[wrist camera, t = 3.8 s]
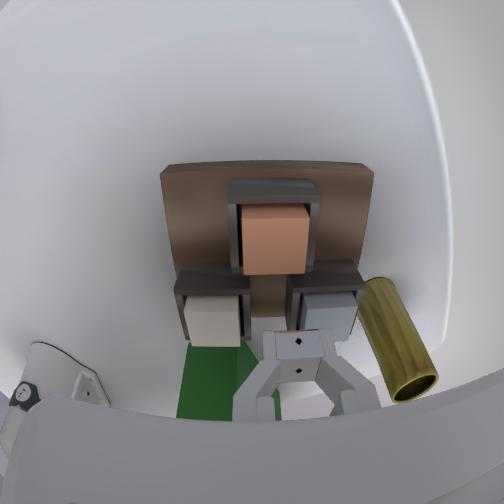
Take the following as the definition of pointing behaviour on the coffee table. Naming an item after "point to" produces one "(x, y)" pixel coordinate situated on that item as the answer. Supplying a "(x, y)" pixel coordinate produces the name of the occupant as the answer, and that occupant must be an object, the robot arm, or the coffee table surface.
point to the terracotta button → (274, 238)
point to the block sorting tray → (230, 231)
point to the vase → (395, 342)
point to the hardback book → (216, 382)
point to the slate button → (328, 312)
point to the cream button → (213, 320)
